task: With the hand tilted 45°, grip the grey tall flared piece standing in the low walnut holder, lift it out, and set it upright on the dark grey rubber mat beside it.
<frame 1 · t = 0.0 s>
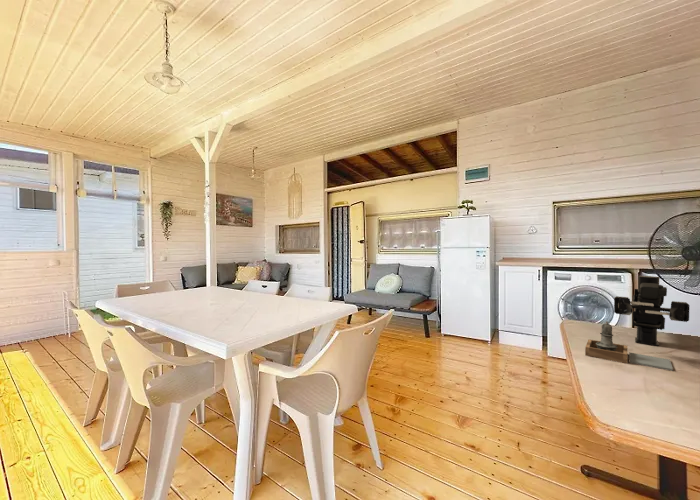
hand: (650, 312, 101), 17 cm above the table, tool horizontal, fingers open, 9 cm apart
grey tall flared piece: (606, 355, 109), resting in walnut holder
grey rubber mat: (649, 361, 102), on the table
walnut holder: (606, 354, 109), on the table
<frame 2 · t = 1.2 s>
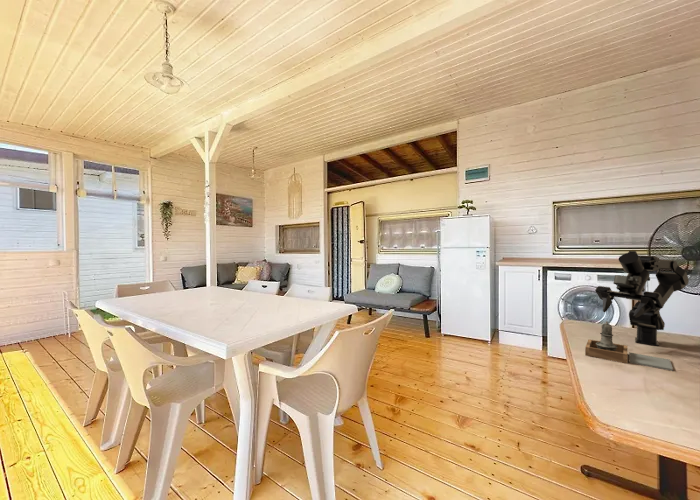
hand: (618, 314, 112), 14 cm above the table, tool tilted 45°, fingers open, 9 cm apart
nothing on the table moved.
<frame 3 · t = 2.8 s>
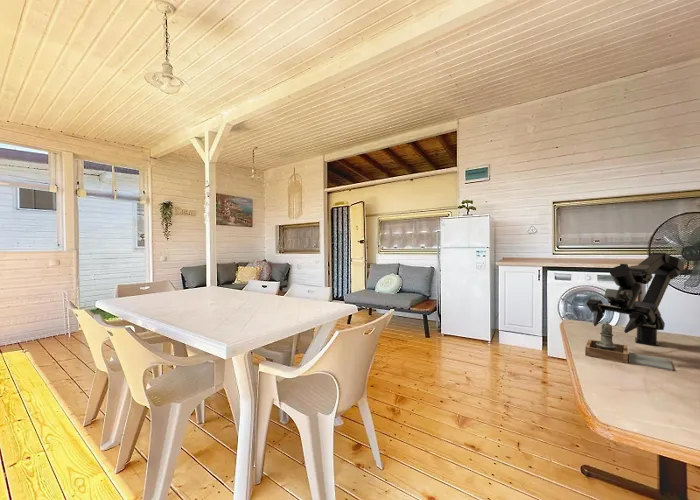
hand: (609, 328, 109), 9 cm above the table, tool tilted 45°, fingers open, 9 cm apart
nothing on the table moved.
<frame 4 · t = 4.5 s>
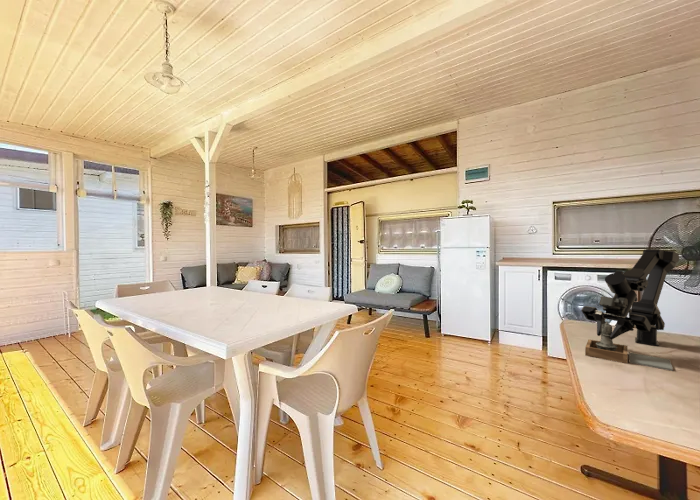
hand: (604, 336, 108), 7 cm above the table, tool tilted 45°, fingers closed on grey tall flared piece, 4 cm apart
grey tall flared piece: (606, 355, 109), resting in walnut holder, touching gripper
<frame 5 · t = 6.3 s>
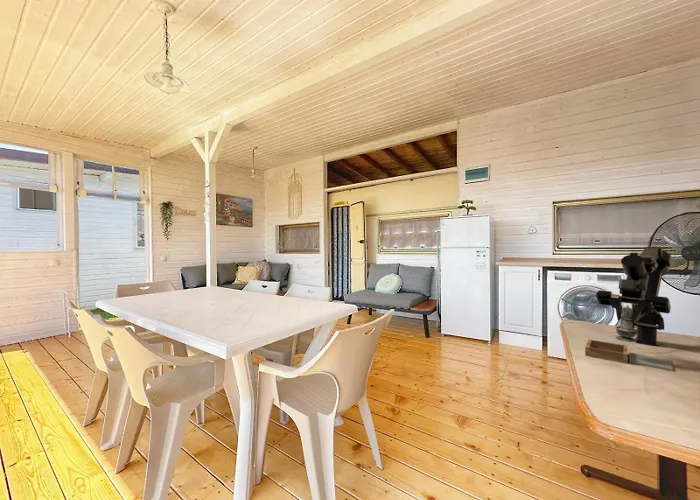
hand: (625, 321, 104), 13 cm above the table, tool tilted 45°, fingers closed on grey tall flared piece, 4 cm apart
grey tall flared piece: (625, 339, 105), point 6 cm above the table, touching gripper
when the fingers open (8 cm above the table, at t = 8.2 s): grey tall flared piece stays where it is, resting on grey rubber mat.
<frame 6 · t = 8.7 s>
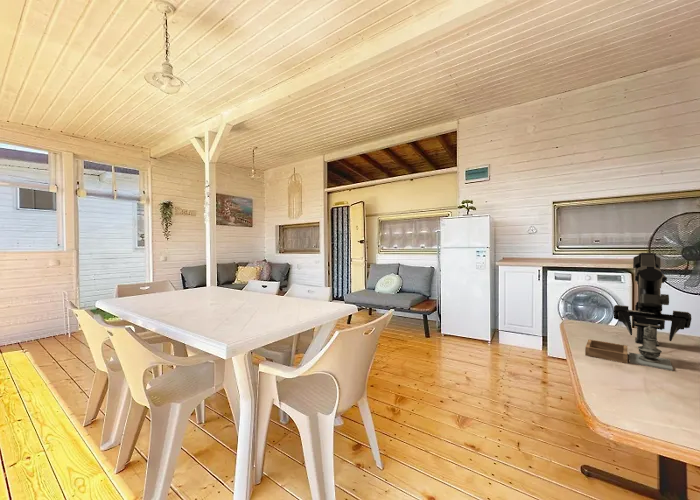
hand: (650, 337, 101), 9 cm above the table, tool tilted 45°, fingers open, 9 cm apart
grey tall flared piece: (649, 360, 102), resting on grey rubber mat
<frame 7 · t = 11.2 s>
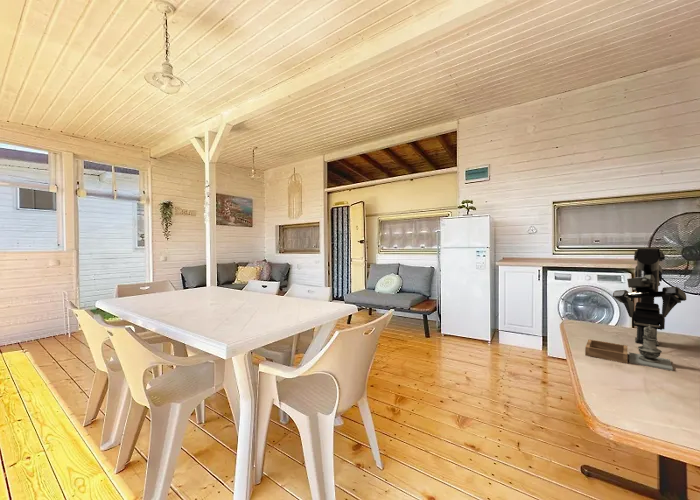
hand: (646, 317, 109), 13 cm above the table, tool tilted 35°, fingers open, 9 cm apart
nothing on the table moved.
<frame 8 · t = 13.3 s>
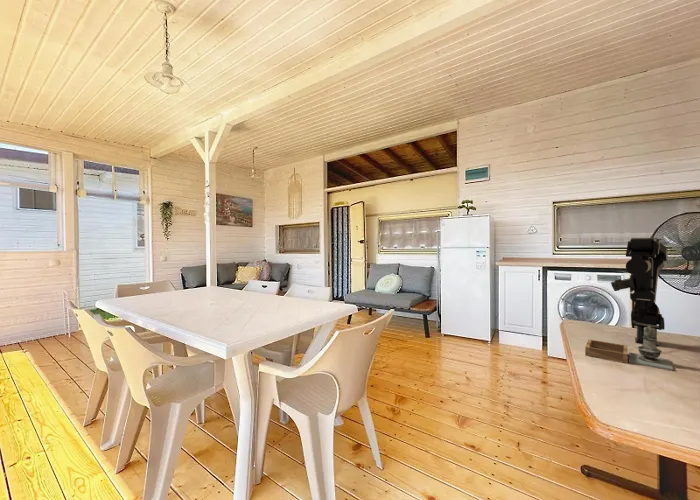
hand: (641, 315, 112), 13 cm above the table, tool pointing down, fingers open, 9 cm apart
nothing on the table moved.
at the end: grey tall flared piece inside the target area on the grey rubber mat (0.2 cm from its centre), point 0.4 cm above the grey rubber mat's base; grey tall flared piece tilted 0°; the gripper is holding nothing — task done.
